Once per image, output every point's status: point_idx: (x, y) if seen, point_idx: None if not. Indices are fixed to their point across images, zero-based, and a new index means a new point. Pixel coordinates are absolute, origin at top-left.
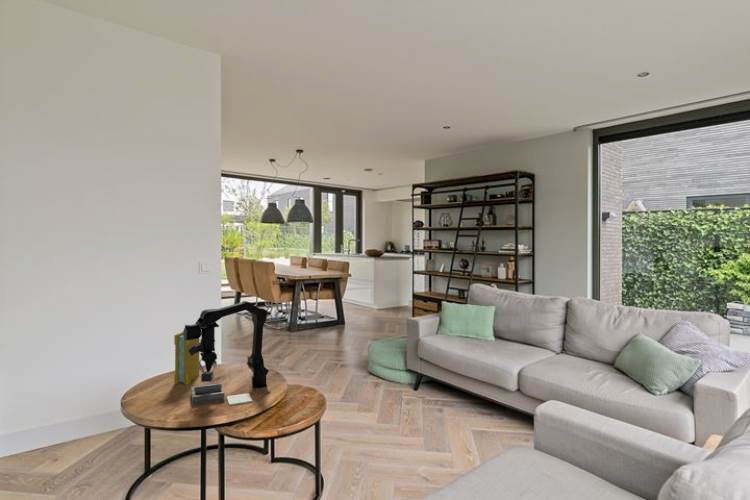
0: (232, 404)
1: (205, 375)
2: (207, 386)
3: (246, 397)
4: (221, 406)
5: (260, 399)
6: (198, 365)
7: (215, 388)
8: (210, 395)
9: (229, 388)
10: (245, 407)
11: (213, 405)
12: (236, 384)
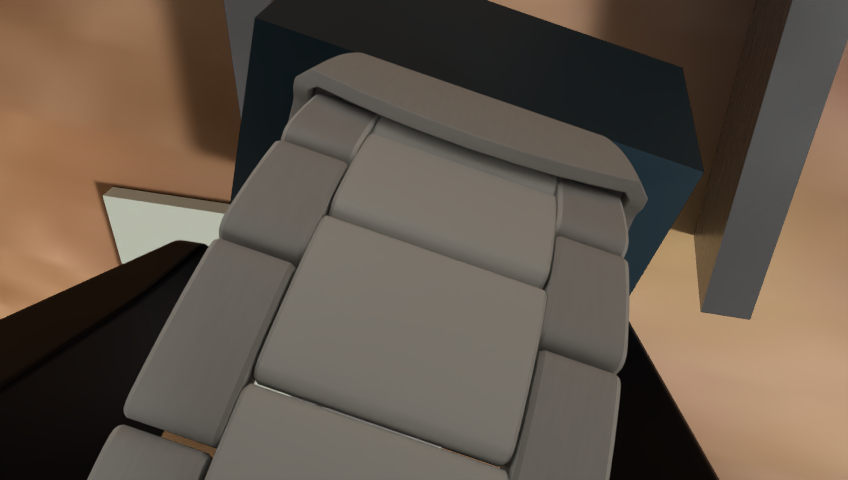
0: (116, 222)
1: (244, 135)
2: (766, 74)
3: (260, 386)
4: (104, 103)
5: (214, 451)
6: (312, 79)
7: (721, 185)
8: (237, 35)
9: (736, 347)
10: (43, 298)
11: (156, 16)
12: (841, 454)
